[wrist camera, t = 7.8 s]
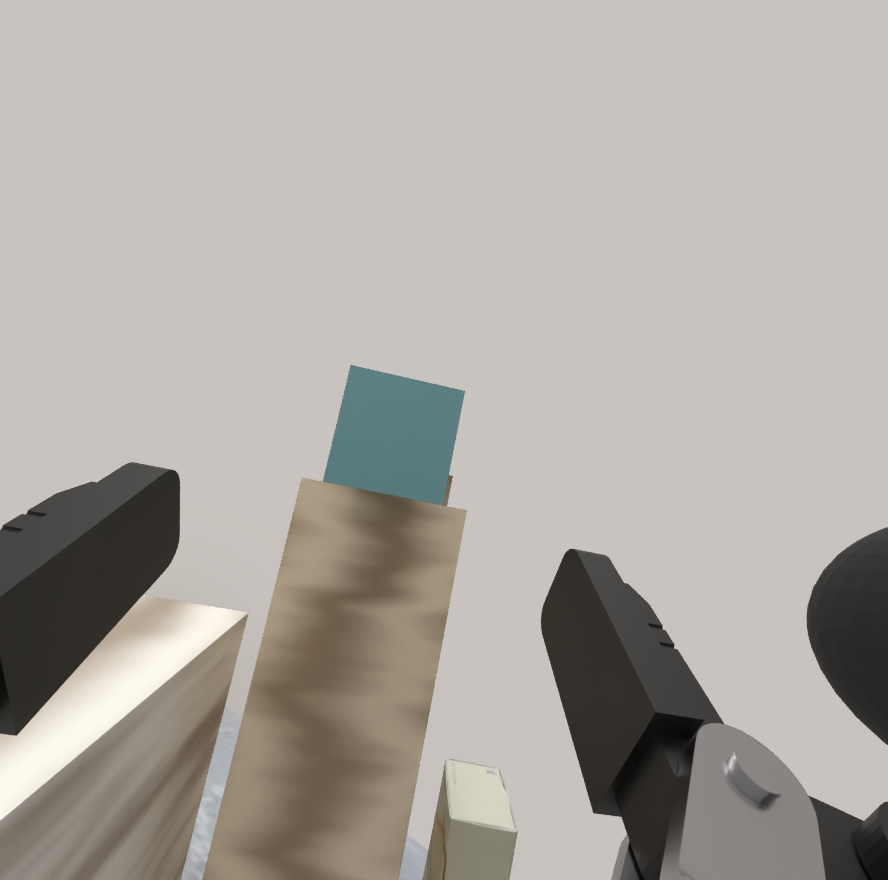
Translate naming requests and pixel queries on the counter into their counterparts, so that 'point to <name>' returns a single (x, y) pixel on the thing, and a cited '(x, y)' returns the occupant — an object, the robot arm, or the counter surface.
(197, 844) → the counter surface
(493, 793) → the skincare box
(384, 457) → the rod
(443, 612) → the stepped wooden blocks
